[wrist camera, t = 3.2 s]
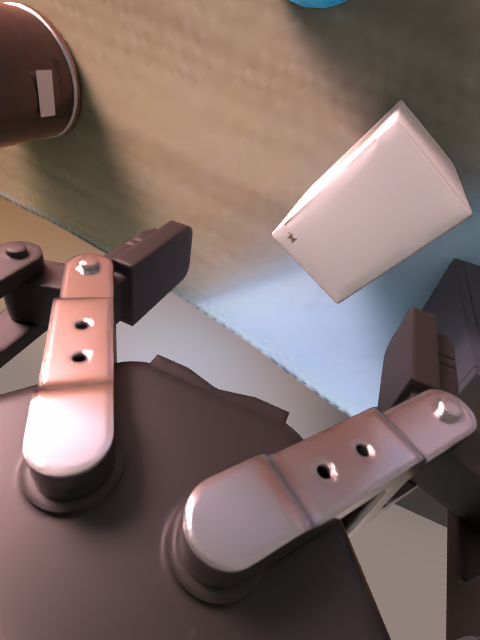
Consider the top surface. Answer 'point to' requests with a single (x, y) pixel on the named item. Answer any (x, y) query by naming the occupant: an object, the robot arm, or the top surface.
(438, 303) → the cover
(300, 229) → the small box
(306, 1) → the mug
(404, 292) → the top surface
